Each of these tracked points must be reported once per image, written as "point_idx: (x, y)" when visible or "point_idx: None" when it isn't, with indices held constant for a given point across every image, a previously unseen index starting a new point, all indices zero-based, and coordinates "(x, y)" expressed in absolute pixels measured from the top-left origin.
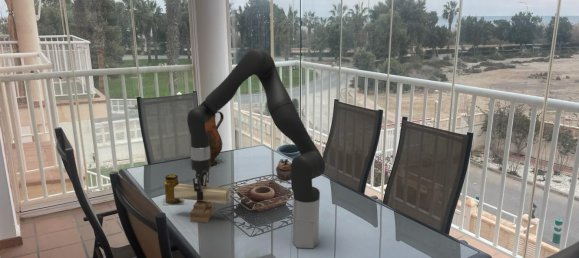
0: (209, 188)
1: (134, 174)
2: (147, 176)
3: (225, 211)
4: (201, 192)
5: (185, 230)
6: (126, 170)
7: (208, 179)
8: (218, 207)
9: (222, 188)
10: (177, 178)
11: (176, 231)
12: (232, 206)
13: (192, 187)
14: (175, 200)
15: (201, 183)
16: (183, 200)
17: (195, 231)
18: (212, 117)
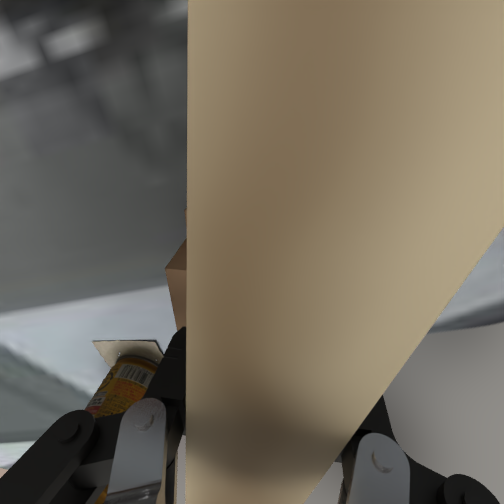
0: (262, 380)
1: (16, 456)
2: (6, 437)
3: (174, 107)
4: (368, 424)
5: (463, 290)
6: (8, 467)
7: (32, 463)
8: (129, 175)
9: (227, 155)
10: None
11: (463, 324)
12: (73, 69)
13: (251, 491)
14: (151, 375)
15: (175, 483)
16: (119, 344)
17: (496, 240)
18: None
